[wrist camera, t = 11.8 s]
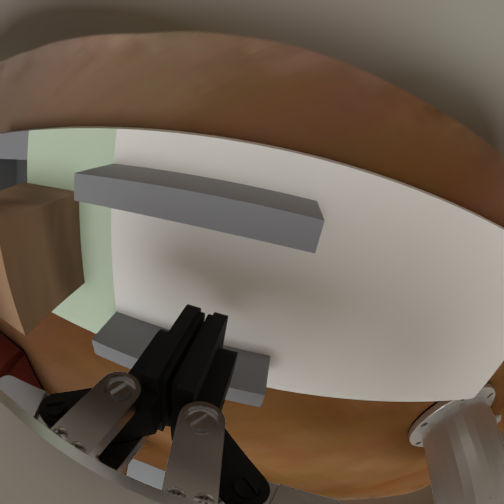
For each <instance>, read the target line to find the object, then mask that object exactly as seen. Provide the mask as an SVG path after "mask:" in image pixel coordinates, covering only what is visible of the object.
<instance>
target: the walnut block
mask: <svg viewBox="0 0 504 504" xmlns="http://www.w3.org/2000/svg"><path fill="white" fill-rule="evenodd" d="M84 283H85V280H84V272H83V263H82V252H81V239H80V218H79V201H74V191H71V190H66V189H60V188H54V187H49V186H43V185H37V184H31V183H25V182H24V183H20V184H17V185H15V186H12V187H9V188H6V189H3V190H0V317H1V318H2V319H3V320H5V321H6V322H7V323H9V324H10V325H11V326H13V327H14V328H15V329H17V330H18V331H19V332H21V333H22V334H24V335H25V336H26V335H27V334H28V333H29V332H30V331H31V330H32V329H33V328H34V327H36V326H37V325H38V324H39V323H40V322H41V321H42V320H43V319H44V318H45V317H46V316H47V315H48V314H50V313H51V312H52V311H53V310H54V309H55V308H56V307H57V306H59V305H60V304H61V303H62V302H63V301H64V300H65V299H66V298H68V297H69V296H70V295H71V294H72V293H73V292H75V291H76V290H77V289H78V288H79V287H81V286H82V285H83V284H84Z"/></svg>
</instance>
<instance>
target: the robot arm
mask: <svg viewBox="0 0 504 504" xmlns="http://www.w3.org/2000/svg"><path fill="white" fill-rule="evenodd" d="M204 320H205V321H204ZM227 321H228V315H224V314H220V313H217V312H214V314H213V315H211V314H208V315H207V317H206V319H205V313H204V312H201V308H199V307H196V306H192V305H189V304H187V305H186V306H185V308H184V309H183V311H182V312H181V314H180V315H179V317H178V318H177V320H176V321H175V323H174V324H173V326H172V327H171V328H170V330H169V331H166V330H163V329H160V330H159V331H158V332H157V333H156V335H155V336H154V338H153V339H152V340H151V342H150V343H149V345H148V346H147V347H146V349H145V350H144V352H143V353H142V354H141V356H140V357H139V359H138V360H137V362H136V363H135V364H134V366H133V367H132V369H131V370H130V372H129V373H126V372H112V373H109V374H107V375H106V376H105V377H103V378H102V379H101V380H100V381H99V382H98V383H97V384H96V385H95V386H94V387H93V388H89V389H83V390H77V391H70V392H63V393H56V394H51V395H49V394H47V393H46V391H44V390H42V389H39V388H37V387H35V386H33V385H30V384H28V383H26V382H24V381H22V380H20V379H18V378H16V377H14V376H10V375H7V376H3V377H1V378H0V504H340V503H339V502H338V501H337V500H335V499H332V498H329V497H324V496H320V495H316V494H312V493H309V492H305V491H302V490H298V489H295V488H292V487H289V486H286V485H283V484H280V485H277V484H274V483H271V482H269V481H267V480H266V479H265V477H264V476H263V475H262V474H261V473H260V472H259V470H258V469H257V468H256V467H255V466H254V465H253V463H252V462H251V461H250V460H249V459H248V457H247V456H246V455H245V454H244V452H243V451H242V450H241V449H240V447H239V446H238V445H237V444H236V442H235V441H234V440H233V438H232V437H231V436H230V434H229V433H228V432H227V430H226V429H225V424H226V423H225V417H224V415H223V413H222V407H223V404H224V401H225V398H226V395H227V392H228V389H229V385H230V382H231V379H232V375H233V372H234V368H235V364H236V360H237V355H238V352H235V351H231V350H228V349H224V348H223V343H224V338H225V332H226V327H227ZM494 398H495V390H494V388H493V386H492V385H491V384H490V383H486V384H485V385H484V386H483V388H482V389H481V390H480V391H479V392H478V394H477V395H476V396H475V397H474V398H473V399H462V400H449V401H440V402H438V403H437V404H435V405H434V406H432V407H431V408H430V409H428V410H427V411H426V412H425V413H424V414H422V415H421V416H420V417H419V418H418V419H417V420H416V421H415V423H414V424H413V425H412V427H411V428H410V430H409V434H408V436H409V441H410V443H411V444H412V445H414V446H418V447H424V451H425V455H426V460H427V465H428V470H429V475H430V480H431V485H432V491H433V498H434V504H497V503H498V504H504V443H503V440H502V438H501V435H500V432H499V429H498V427H497V424H498V422H500V420H501V414H495V415H494V414H493V411H492V409H491V407H490V406H491V405H492V403H493V401H494ZM165 426H169V427H170V426H171V437H172V445H171V450H170V454H169V459H168V463H167V468H166V472H165V477H164V482H163V487H162V490H159V489H156V488H154V487H152V486H149V485H147V484H144V483H142V482H140V481H137V480H135V479H133V478H131V477H128V476H126V475H124V474H122V472H123V471H124V469H125V468H126V467H127V465H128V464H129V463H130V461H131V460H132V459H133V457H134V456H135V455H136V454H137V452H138V451H139V450H140V448H141V447H142V446H143V444H144V443H145V442H146V440H147V439H148V437H149V435H152V434H155V433H156V431H157V429H158V430H160V431H163V430H164V428H165Z"/></svg>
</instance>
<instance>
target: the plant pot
mask: <svg viewBox="0 0 504 504" xmlns="http://www.w3.org/2000/svg"><path fill="white" fill-rule="evenodd" d="M7 375H10V376H14V377H16V378H18V379H20V380H22V381H24V382H26V383H28V384H30V385H33V386H35V387H37V388H39V389H42V388H41V386H40V384H39V382H38V380H37V378H36V376H35V375H34V373H33V371H32V368H31V366H30V364H29V362H28V360H27V358H26V356H25V354H24V352H23V351H22V350H21V349H20V348H18V347H17V346H16V345H15V344H14V343H12V342H11V341H10V340H9V339H8V338H6V337H5V336H4V335H3V334H2V333H1V332H0V378H1V377H3V376H7Z"/></svg>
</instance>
